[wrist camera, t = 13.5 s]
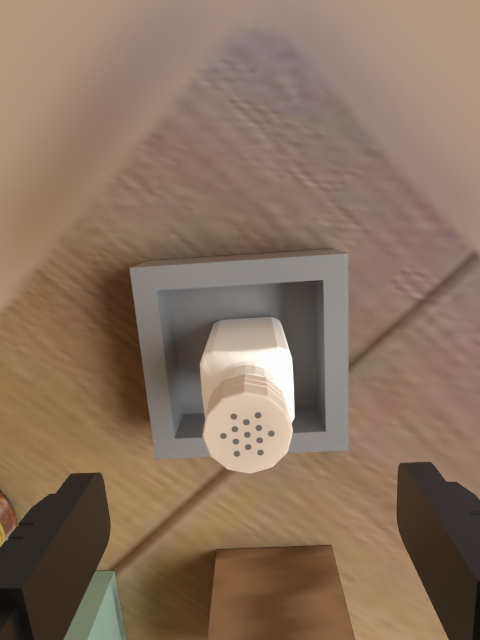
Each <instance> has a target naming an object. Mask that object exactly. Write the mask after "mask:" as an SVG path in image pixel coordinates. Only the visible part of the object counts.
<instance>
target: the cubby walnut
mask: <svg viewBox="0 0 480 640" xmlns="http://www.w3.org/2000/svg"><path fill="white" fill-rule="evenodd" d="M207 640H355V637H354V633H353V629H352V625H351V621H350V617H349V613H348V609H347V605H346V601H345V597H344V593H343V589H342V585H341V581H340V577H339V573H338V569H337V565H336V561H335V557H334V553H333V549H332V545H328V546H301V547H273V548H246V549H219V550H216V560H215V569H214V579H213V589H212V599H211V609H210V619H209V629H208V639H207Z"/></svg>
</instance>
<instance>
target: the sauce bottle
mask: <svg viewBox="0 0 480 640" xmlns="http://www.w3.org/2000/svg"><path fill="white" fill-rule="evenodd" d="M16 527H17V519H16V514H15V512H14V510H13V508H12V506H11V504H10V502H9V501H8V499H6V497H4V496H3V494H2V493H1V492H0V547H1V545H2V544H3V543H4V542H5V540H8V537H9V535H10V534H11V533H12V532H13V530H14V529H15V528H16Z"/></svg>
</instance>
